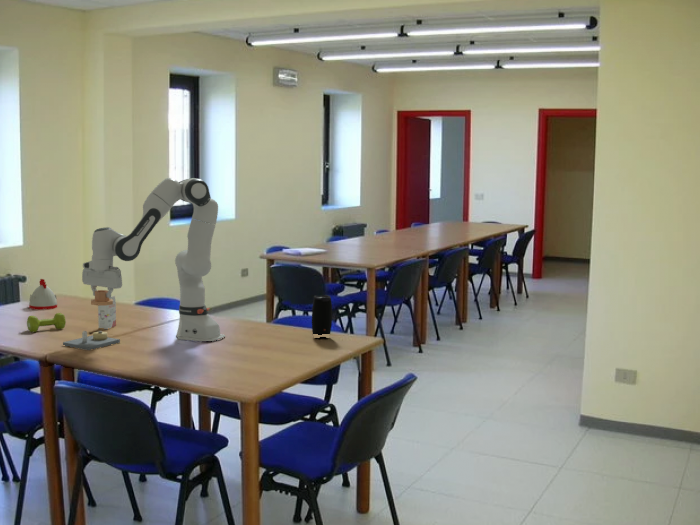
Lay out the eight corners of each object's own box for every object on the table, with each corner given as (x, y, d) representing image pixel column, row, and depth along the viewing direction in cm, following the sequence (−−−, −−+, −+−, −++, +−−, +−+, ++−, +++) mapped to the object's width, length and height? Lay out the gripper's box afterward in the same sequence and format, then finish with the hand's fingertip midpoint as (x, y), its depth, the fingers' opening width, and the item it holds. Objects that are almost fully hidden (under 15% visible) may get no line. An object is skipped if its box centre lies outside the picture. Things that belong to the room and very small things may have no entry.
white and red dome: (51, 304, 443) (51, 276, 441) (61, 308, 432) (60, 280, 431) (25, 306, 434) (25, 278, 432) (34, 310, 424) (34, 281, 422)
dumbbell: (31, 333, 370) (31, 317, 369) (25, 330, 376) (25, 315, 375) (67, 329, 381) (67, 314, 380) (60, 326, 387) (60, 311, 386)
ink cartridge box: (106, 325, 393) (106, 294, 391) (116, 326, 392) (116, 295, 390) (97, 328, 384) (97, 297, 383) (107, 329, 383) (107, 298, 382)
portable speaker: (330, 340, 376) (331, 298, 373) (310, 339, 376) (311, 297, 374) (332, 336, 384) (333, 295, 382) (312, 335, 385) (313, 294, 382)
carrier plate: (119, 342, 357) (119, 328, 356) (89, 350, 341) (89, 335, 340) (94, 338, 364) (94, 323, 363) (62, 345, 348) (62, 330, 347)
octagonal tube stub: (117, 303, 358) (117, 291, 358) (102, 306, 350) (102, 293, 350) (101, 301, 362) (102, 288, 362) (86, 303, 354) (86, 291, 354)
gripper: (125, 266, 352) (125, 298, 354) (90, 262, 362) (90, 293, 363) (115, 268, 347) (114, 300, 348) (79, 263, 356) (79, 294, 358)
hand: (102, 296), depth 356 cm, fingers closed on octagonal tube stub, 6 cm apart
